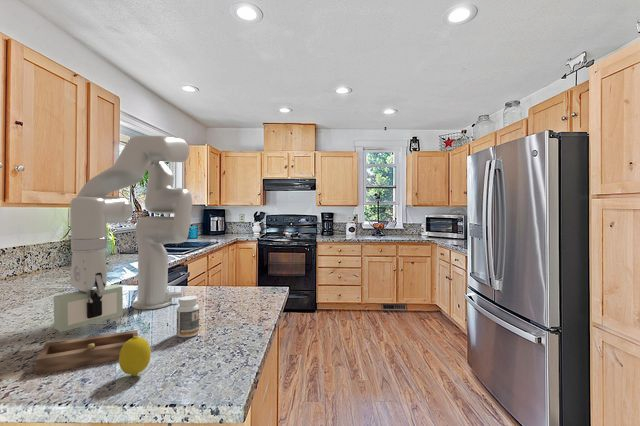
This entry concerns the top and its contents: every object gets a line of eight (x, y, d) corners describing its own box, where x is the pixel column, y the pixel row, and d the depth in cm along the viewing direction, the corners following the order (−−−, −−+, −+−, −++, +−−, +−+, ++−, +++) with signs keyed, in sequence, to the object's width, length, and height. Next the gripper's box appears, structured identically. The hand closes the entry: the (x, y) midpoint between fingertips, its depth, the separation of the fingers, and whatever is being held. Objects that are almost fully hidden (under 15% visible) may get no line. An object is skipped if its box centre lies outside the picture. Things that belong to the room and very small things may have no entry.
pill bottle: (203, 332, 90) (204, 296, 90) (188, 339, 84) (189, 301, 85) (186, 329, 92) (187, 294, 92) (171, 336, 86) (172, 299, 86)
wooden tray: (136, 341, 82) (137, 325, 83) (138, 355, 74) (138, 338, 74) (45, 356, 73) (45, 339, 73) (35, 374, 65) (36, 354, 65)
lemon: (127, 369, 68) (128, 331, 68) (154, 369, 68) (155, 331, 68) (112, 383, 62) (113, 341, 62) (142, 382, 63) (143, 341, 63)
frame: (115, 312, 91) (115, 284, 91) (122, 315, 89) (122, 286, 89) (54, 328, 80) (53, 296, 79) (60, 332, 77) (60, 299, 77)
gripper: (59, 243, 85) (60, 312, 86) (86, 249, 76) (87, 326, 77) (91, 240, 91) (92, 304, 92) (120, 246, 82) (121, 317, 83)
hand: (90, 314), depth 84 cm, fingers closed on frame, 4 cm apart
